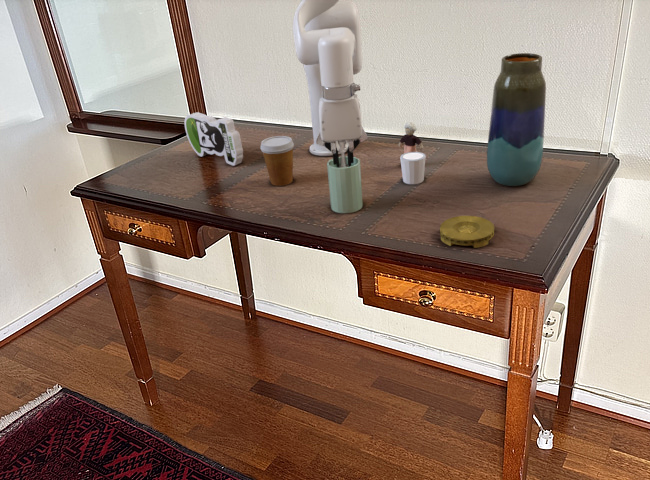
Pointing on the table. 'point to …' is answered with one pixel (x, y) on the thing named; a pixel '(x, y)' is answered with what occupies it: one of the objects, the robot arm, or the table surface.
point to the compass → (467, 231)
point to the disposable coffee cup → (279, 159)
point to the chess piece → (342, 154)
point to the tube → (345, 186)
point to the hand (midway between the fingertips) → (343, 165)
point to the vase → (517, 120)
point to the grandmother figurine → (410, 139)
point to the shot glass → (413, 167)
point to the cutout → (214, 137)
